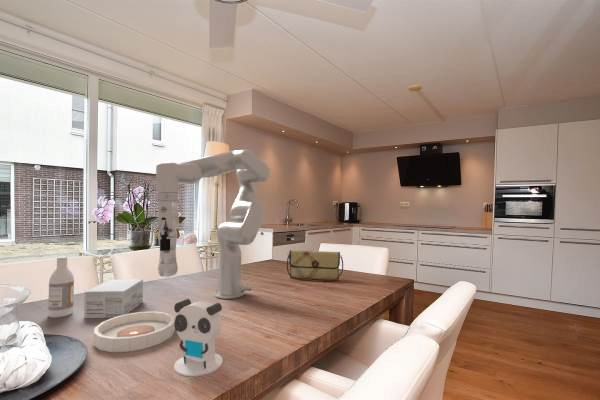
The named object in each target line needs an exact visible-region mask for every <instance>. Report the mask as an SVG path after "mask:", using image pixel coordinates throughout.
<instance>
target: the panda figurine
mask: <svg viewBox="0 0 600 400" xmlns="http://www.w3.org/2000/svg"><path fill="white" fill-rule="evenodd" d="M173 309H174V312H175V313H176V316H175V317H174V319H175V322H174V327H175V332H176V333H177V335H178V337H179V338H180V340H181V341H180V342H179V348H180V349H181V350H182V351H183V356H181V357H180V358H179V359H177V360H176V361H175V363H174V366H173V370H174V371H175V372H176V373H177V374H179V375H180V376H184V377H199V376H200V377H201V376H205V375H208V374H211V373H213V372H215V371H217V370H218V369H219V368H220V367H222V365H223V357H222V356H221V355H220V354H218V353H217V352H216V338H217V337H218V336H219V334H220V332H221V330H222V318H221V317H222V316H221V313H220V312H221V311H222V309H223V308H222V304H221V303H219V302H216V303H214V304H213V303H211V302H207V301H201V300H199V301H195V302H191V299H189V298H185V299H183V300H181V301H178V302H175V304H174V306H173Z"/></svg>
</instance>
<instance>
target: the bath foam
mask: <svg viewBox="0 0 600 400" xmlns="http://www.w3.org/2000/svg"><path fill="white" fill-rule="evenodd" d="M74 289H75V279H74V274H73V273H72V271H71V270H70V269H69V268H68V256H58V257H56V268H55V270H53V272H52V274H51V275H50V278H49V281H48V305H47V306H48V308H47V311H48V312H47V314H48V315H47V316H48V317H49V318H52V319H54V318H55V319H56V318H57V319H58V318H64V317H66V316H67V317H68V316H69V315H71V314H73V313H74V293H75V291H74Z"/></svg>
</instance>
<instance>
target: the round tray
mask: <svg viewBox="0 0 600 400" xmlns="http://www.w3.org/2000/svg"><path fill="white" fill-rule="evenodd" d="M174 322H175V317H174V315H172V314H170V313H167V312H162V311H137V312H129V313H128V314H125V315H121V316H117V317H113V318H108V319H106V320H104V321H101V322H100V323H99V324H97V325H96V326H95V327H94V331H93V347H94V348H95V349H98V350H99V351H103V352H109V353H123V352H125V353H126V352H133V351H140V350H144V349H145V350H146V349H148V348H150V347H154V346H156V345H160V344H162V343H164V342H165V341H167V340H170V338H172V337H173V335H174V333H175V332H176V330H175V327H174Z"/></svg>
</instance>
